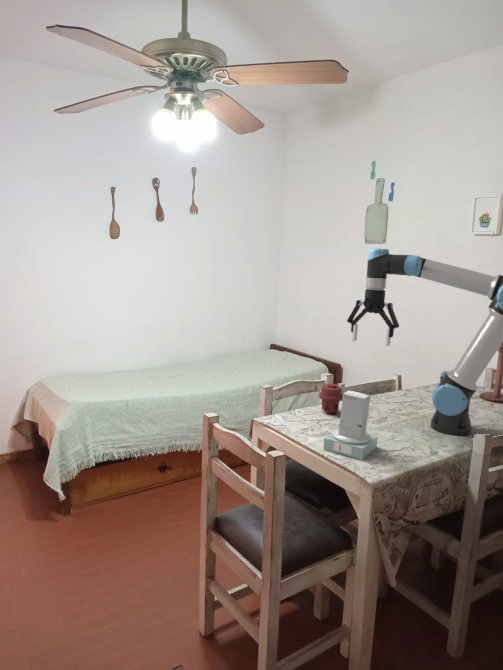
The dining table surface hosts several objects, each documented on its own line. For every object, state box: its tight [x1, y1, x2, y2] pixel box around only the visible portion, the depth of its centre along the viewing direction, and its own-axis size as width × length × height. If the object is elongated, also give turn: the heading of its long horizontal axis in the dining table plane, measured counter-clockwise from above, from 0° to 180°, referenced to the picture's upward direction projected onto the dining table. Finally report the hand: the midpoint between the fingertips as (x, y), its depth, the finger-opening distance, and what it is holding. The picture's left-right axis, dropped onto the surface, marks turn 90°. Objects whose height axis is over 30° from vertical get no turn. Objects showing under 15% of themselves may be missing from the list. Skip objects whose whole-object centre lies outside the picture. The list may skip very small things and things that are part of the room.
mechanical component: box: [318, 383, 343, 416], centre depth 208 cm, size 12×10×10 cm
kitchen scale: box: [323, 428, 379, 461], centre depth 170 cm, size 14×15×5 cm
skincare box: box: [338, 390, 371, 439], centre depth 169 cm, size 8×6×15 cm
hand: (370, 343), depth 193 cm, fingers open, 13 cm apart
